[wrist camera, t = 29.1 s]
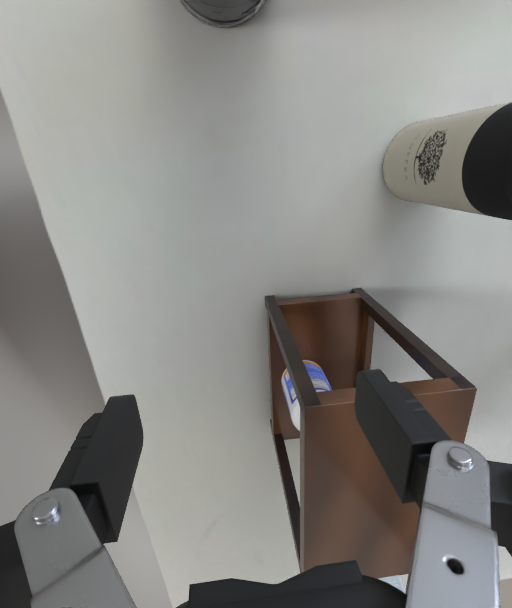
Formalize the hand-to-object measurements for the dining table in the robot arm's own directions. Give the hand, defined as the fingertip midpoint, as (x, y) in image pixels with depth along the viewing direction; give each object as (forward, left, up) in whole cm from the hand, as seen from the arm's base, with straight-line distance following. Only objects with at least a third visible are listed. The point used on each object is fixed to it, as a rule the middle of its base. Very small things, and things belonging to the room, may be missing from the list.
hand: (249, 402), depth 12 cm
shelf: (+19, -5, -28) cm, 34 cm away
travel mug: (+10, +20, -28) cm, 36 cm away
